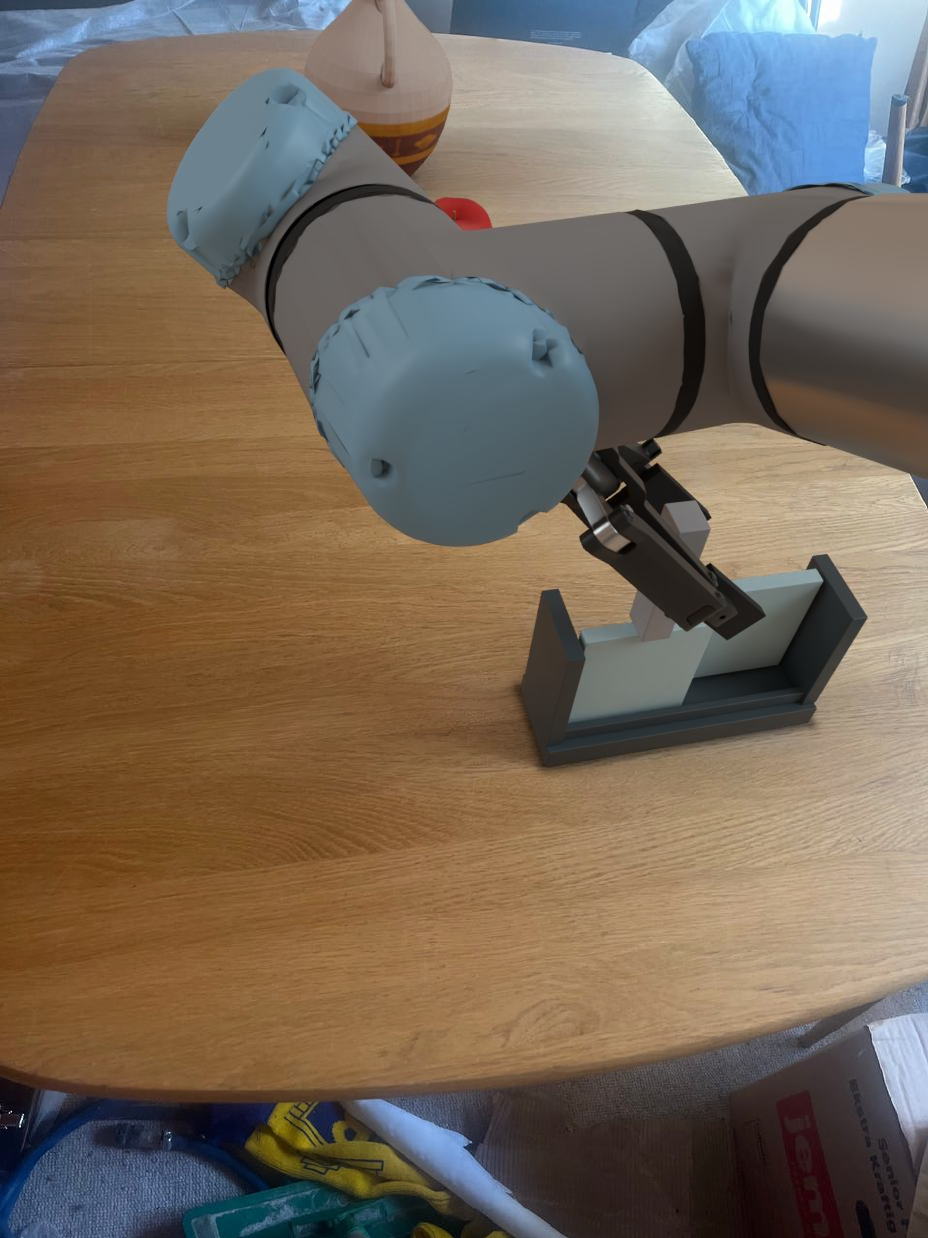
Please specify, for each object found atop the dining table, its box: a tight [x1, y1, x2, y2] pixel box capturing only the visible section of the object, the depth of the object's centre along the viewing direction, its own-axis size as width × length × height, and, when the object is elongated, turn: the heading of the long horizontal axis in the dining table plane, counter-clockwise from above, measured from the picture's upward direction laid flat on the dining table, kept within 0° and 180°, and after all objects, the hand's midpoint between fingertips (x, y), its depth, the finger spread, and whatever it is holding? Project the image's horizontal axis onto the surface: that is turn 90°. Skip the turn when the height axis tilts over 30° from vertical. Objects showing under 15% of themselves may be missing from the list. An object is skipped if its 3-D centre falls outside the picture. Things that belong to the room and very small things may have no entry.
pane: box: [568, 500, 713, 724], centre depth 62 cm, size 2×9×20 cm, turn 103°
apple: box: [433, 196, 494, 231], centre depth 103 cm, size 10×10×10 cm
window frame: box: [519, 553, 869, 768], centre depth 69 cm, size 7×21×12 cm, turn 103°
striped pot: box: [303, 0, 454, 178], centre depth 112 cm, size 20×18×30 cm
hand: (716, 572), depth 59 cm, fingers open, 8 cm apart
